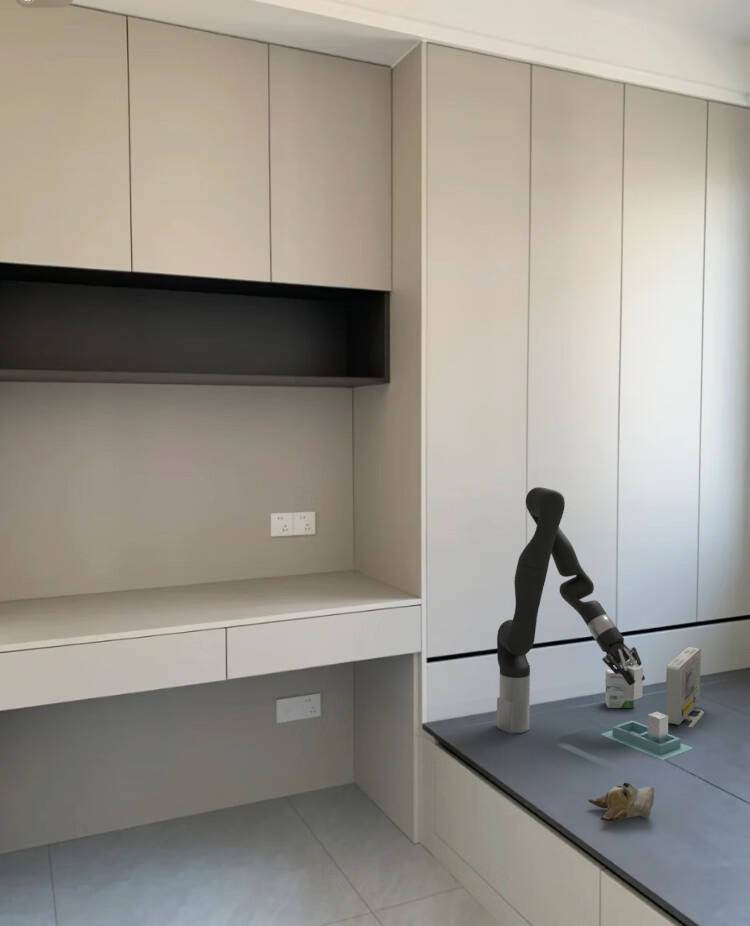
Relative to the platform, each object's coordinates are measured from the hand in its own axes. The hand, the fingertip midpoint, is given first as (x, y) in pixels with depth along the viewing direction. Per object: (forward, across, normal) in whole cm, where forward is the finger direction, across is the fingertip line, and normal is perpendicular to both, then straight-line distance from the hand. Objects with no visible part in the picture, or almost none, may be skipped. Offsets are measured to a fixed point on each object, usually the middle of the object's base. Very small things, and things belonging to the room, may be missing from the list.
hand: (637, 682), depth 247 cm
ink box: (-2, +20, +28) cm, 34 cm away
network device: (+11, +27, +14) cm, 33 cm away
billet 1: (+2, 0, +5) cm, 5 cm away
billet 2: (+17, -1, +6) cm, 18 cm away
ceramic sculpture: (+32, -40, -6) cm, 52 cm away
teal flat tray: (+16, -1, +10) cm, 18 cm away
